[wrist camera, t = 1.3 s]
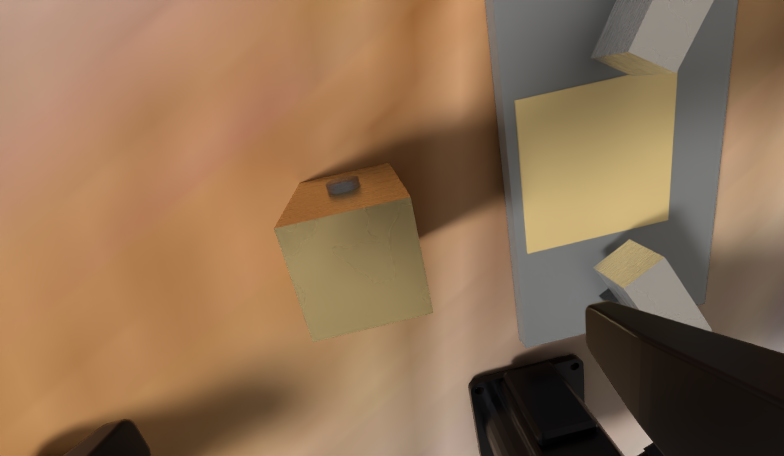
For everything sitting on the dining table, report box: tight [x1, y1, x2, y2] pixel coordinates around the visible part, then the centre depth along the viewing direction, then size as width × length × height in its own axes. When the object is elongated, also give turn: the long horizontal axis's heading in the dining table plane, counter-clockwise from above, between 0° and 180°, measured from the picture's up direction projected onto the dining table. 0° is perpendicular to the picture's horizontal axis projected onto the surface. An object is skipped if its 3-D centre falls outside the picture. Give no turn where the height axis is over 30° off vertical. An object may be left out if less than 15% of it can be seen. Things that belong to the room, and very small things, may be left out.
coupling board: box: [485, 0, 738, 348], centre depth 17 cm, size 18×10×1 cm, turn 12°
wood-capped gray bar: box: [591, 0, 714, 331], centre depth 15 cm, size 18×4×3 cm, turn 12°
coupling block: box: [274, 163, 433, 342], centre depth 14 cm, size 5×4×6 cm
